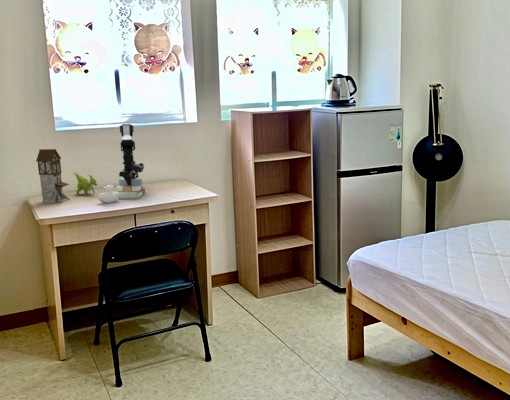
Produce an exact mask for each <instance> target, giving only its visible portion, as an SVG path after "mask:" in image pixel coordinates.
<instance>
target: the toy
mask: <svg viewBox="0 0 510 400" xmlns="http://www.w3.org/2000/svg"><path fill="white" fill-rule="evenodd" d="M73 175H75V177H76V180H77V184H76V185H77V189H76V194H77V195H80V192H81V191H82V190H83V193H84V195H85V196H87V194H88V193H89V192H90V191H91V190H92V192H93V194H96V193H95V190H94V186H95V187H97V185H98V183H97V180H96V179H95V178H94V177H93V176H92V175H91V174H88V176H89V178H90V180H89V179H87V178H86V177H84V176H81V175H80V174H78V173H76V172H73ZM93 185H94V186H93Z"/></svg>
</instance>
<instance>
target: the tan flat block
mask: <svg viewBox="0 0 510 400" xmlns="http://www.w3.org/2000/svg"><path fill="white" fill-rule="evenodd" d="M141 191H142V194H145V193H146V189H145V187H142V189H141V190H139V191H127V192H137V194H138V193H140V192H141ZM116 192H125V190H124V191H117V190H116Z"/></svg>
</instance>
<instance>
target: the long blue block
mask: <svg viewBox="0 0 510 400" xmlns="http://www.w3.org/2000/svg"><path fill="white" fill-rule="evenodd" d="M118 184H119V185H118V186H127V185H128V184H127V182H126V181H125V179H124V178H120V179H118ZM131 185H133V186H140V187H141V189H142V188H143V178H135V179H131Z"/></svg>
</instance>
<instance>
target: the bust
mask: <svg viewBox="0 0 510 400" xmlns="http://www.w3.org/2000/svg"><path fill="white" fill-rule="evenodd" d="M102 187H103V189H105V192H101V193H99V194H98V195H97V198H98V200H99V202H100V203H107V204H112V203H114V202H115V201H118V200H119V199H118V198H119V193H118V192H117V191H114V188H115V186H114V185H111V184H107V185H106V186H102Z"/></svg>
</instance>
